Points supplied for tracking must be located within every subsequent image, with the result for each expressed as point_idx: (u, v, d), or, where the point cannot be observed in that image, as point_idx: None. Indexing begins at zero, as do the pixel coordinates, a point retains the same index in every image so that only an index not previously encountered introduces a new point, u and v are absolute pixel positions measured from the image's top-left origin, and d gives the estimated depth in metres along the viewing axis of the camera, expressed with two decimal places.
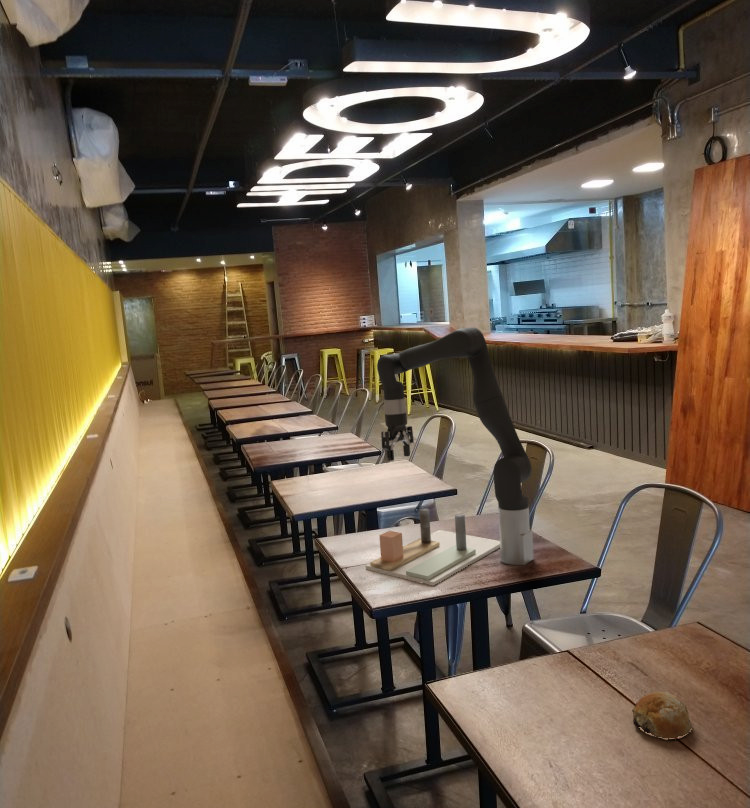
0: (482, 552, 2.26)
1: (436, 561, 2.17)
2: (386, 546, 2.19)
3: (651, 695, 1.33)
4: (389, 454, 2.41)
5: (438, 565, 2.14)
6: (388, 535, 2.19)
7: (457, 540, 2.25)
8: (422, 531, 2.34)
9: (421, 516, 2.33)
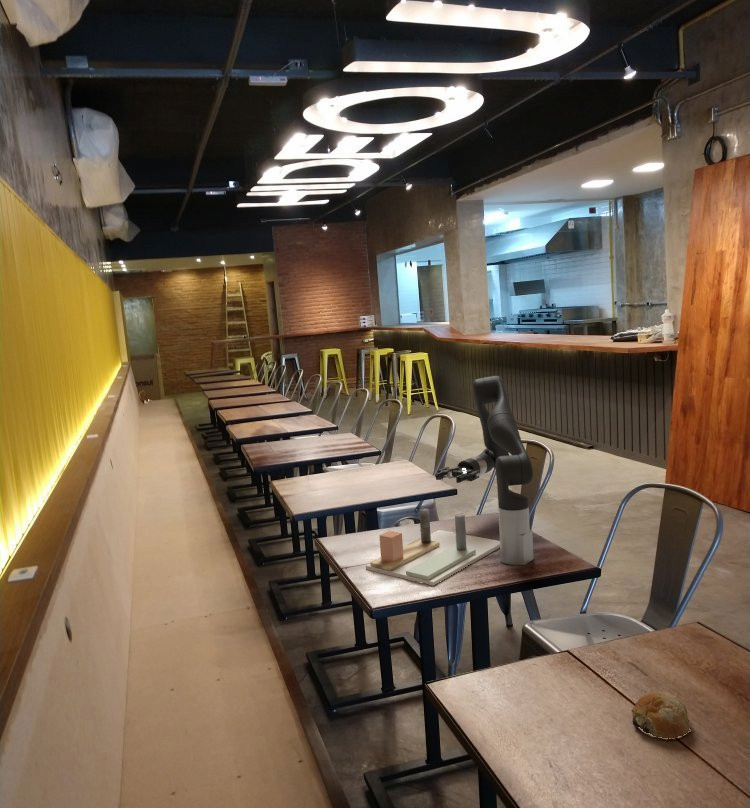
0: (482, 552, 2.26)
1: (436, 561, 2.17)
2: (386, 546, 2.19)
3: (650, 695, 1.33)
4: None
5: (438, 565, 2.14)
6: (388, 535, 2.19)
7: (457, 540, 2.25)
8: (422, 531, 2.34)
9: (421, 516, 2.33)
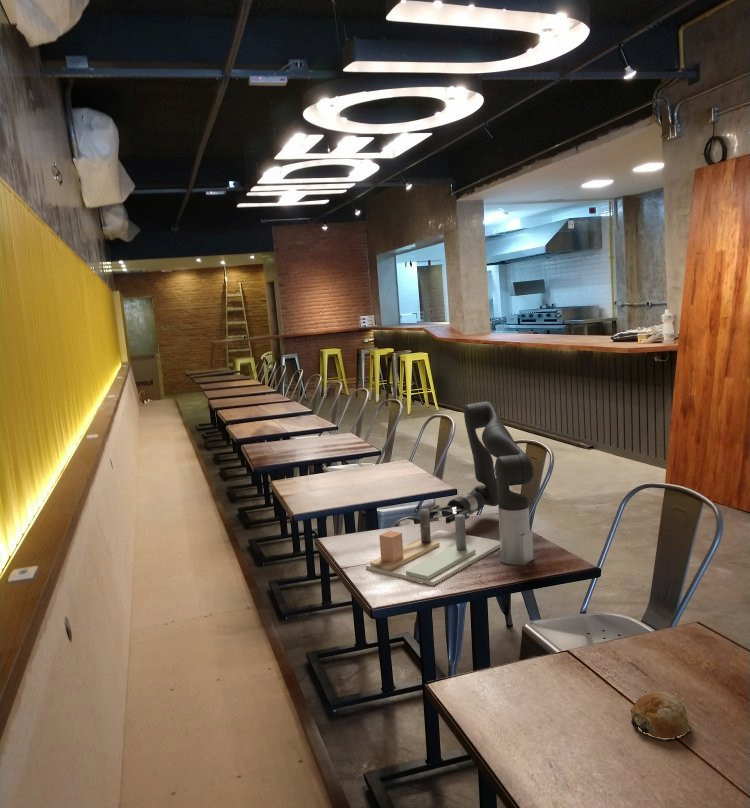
0: (482, 552, 2.26)
1: (436, 561, 2.17)
2: (386, 546, 2.19)
3: (649, 695, 1.33)
4: None
5: (438, 565, 2.14)
6: (388, 535, 2.19)
7: (457, 540, 2.25)
8: (422, 531, 2.34)
9: (421, 516, 2.33)
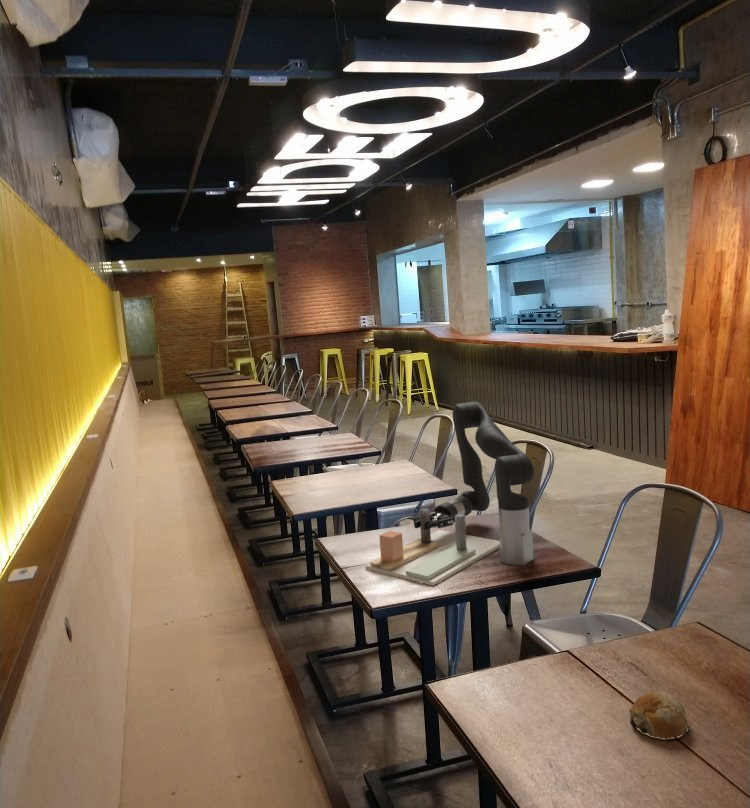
0: (482, 552, 2.26)
1: (436, 561, 2.17)
2: (386, 546, 2.19)
3: (648, 695, 1.33)
4: None
5: (438, 565, 2.14)
6: (388, 535, 2.19)
7: (457, 540, 2.25)
8: (422, 531, 2.34)
9: (421, 516, 2.33)
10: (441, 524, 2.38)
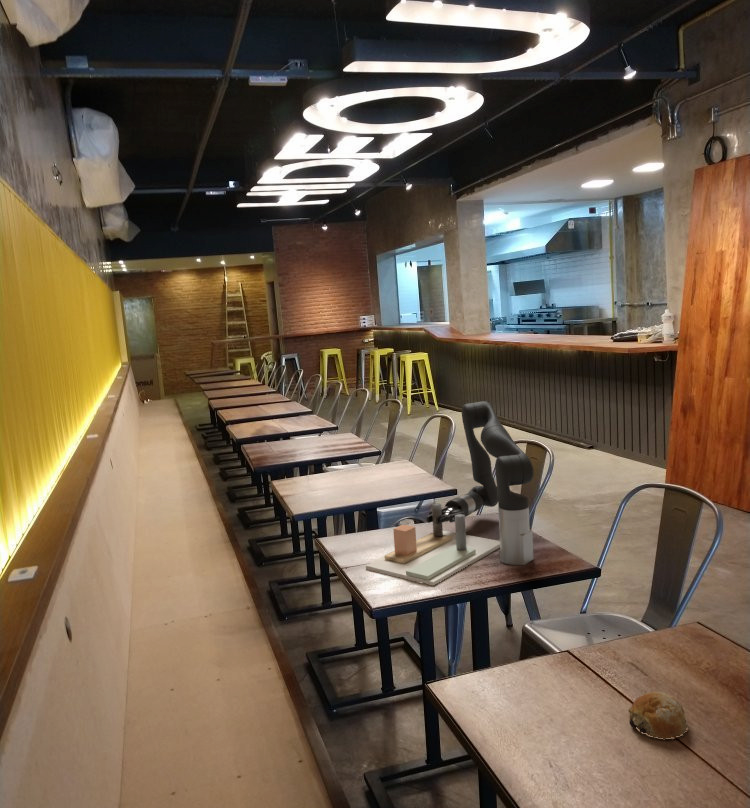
0: (482, 552, 2.26)
1: (436, 561, 2.17)
2: (400, 539, 2.24)
3: (647, 695, 1.33)
4: None
5: (438, 565, 2.14)
6: (402, 529, 2.24)
7: (457, 540, 2.25)
8: (434, 525, 2.39)
9: (433, 511, 2.38)
10: (453, 518, 2.43)
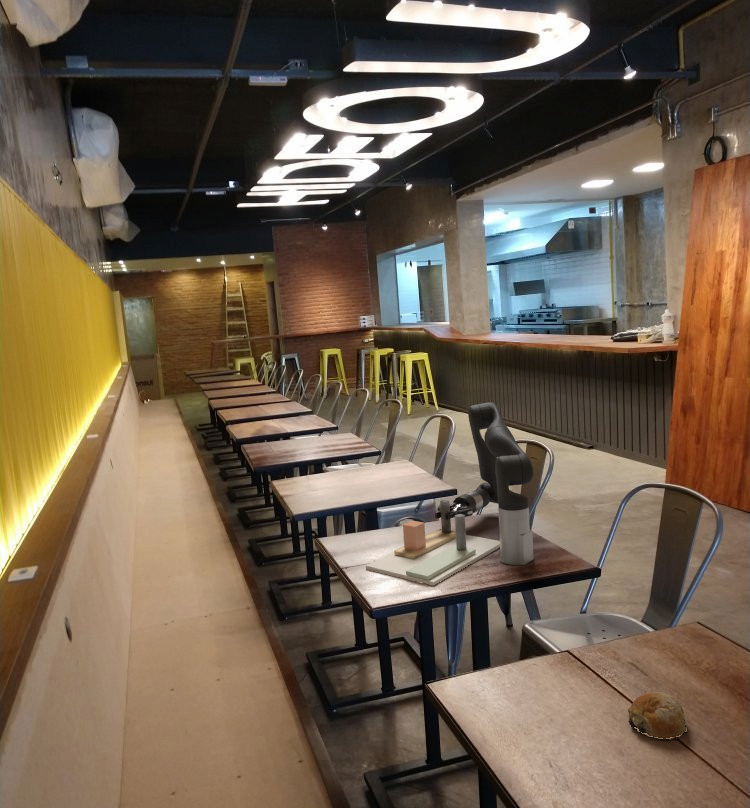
0: (482, 552, 2.26)
1: (436, 561, 2.17)
2: (410, 535, 2.28)
3: (647, 695, 1.33)
4: None
5: (438, 565, 2.14)
6: (412, 525, 2.28)
7: (457, 540, 2.25)
8: (443, 521, 2.43)
9: (442, 507, 2.42)
10: None
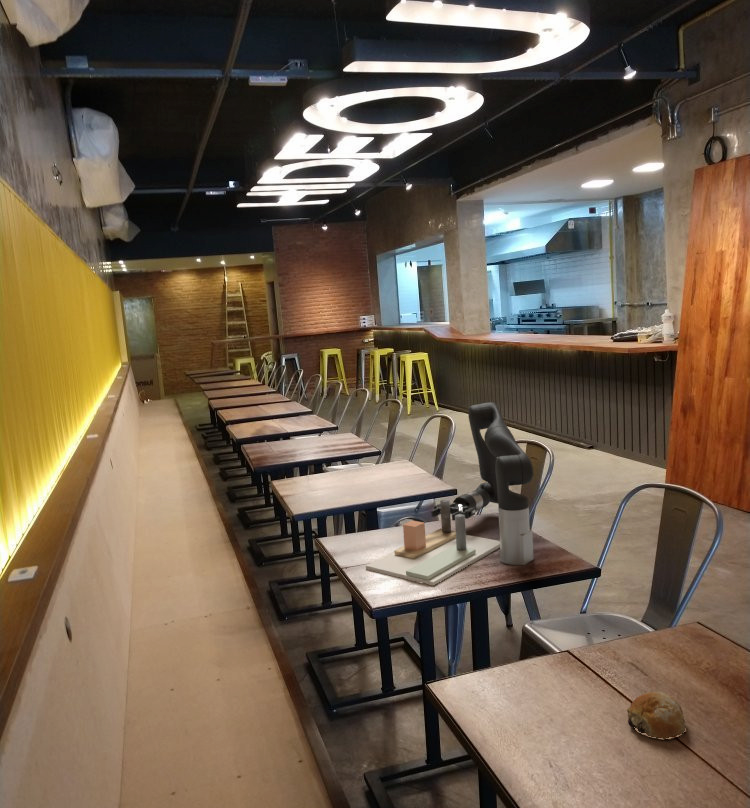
0: (482, 552, 2.26)
1: (436, 561, 2.17)
2: (410, 535, 2.28)
3: (646, 695, 1.33)
4: None
5: (438, 565, 2.14)
6: (412, 525, 2.28)
7: (457, 540, 2.25)
8: (443, 521, 2.43)
9: (442, 507, 2.42)
10: None
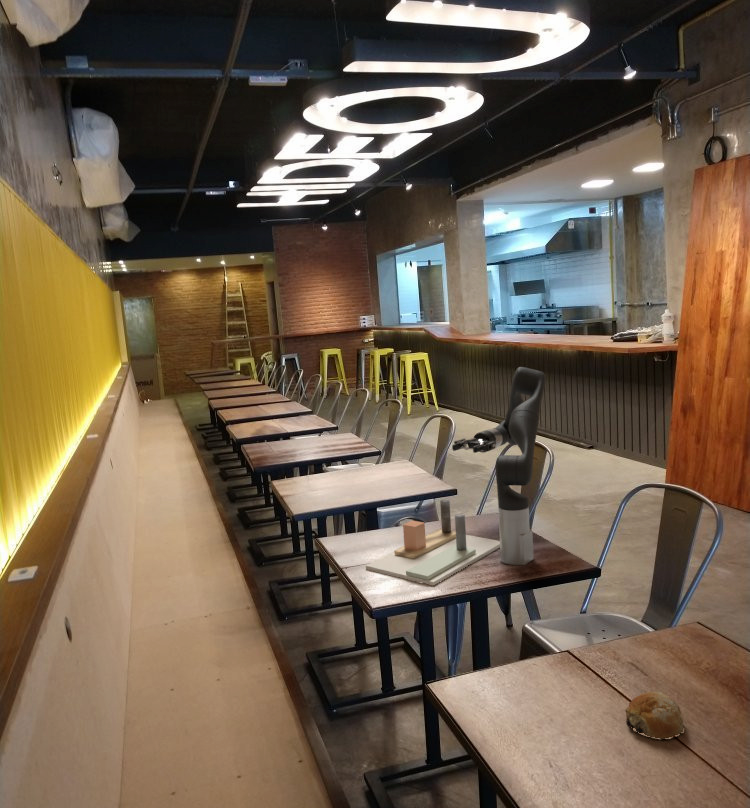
0: (482, 552, 2.26)
1: (436, 561, 2.17)
2: (410, 535, 2.28)
3: (644, 695, 1.33)
4: None
5: (438, 565, 2.14)
6: (412, 525, 2.28)
7: (457, 540, 2.25)
8: (443, 521, 2.43)
9: (442, 507, 2.42)
10: None
